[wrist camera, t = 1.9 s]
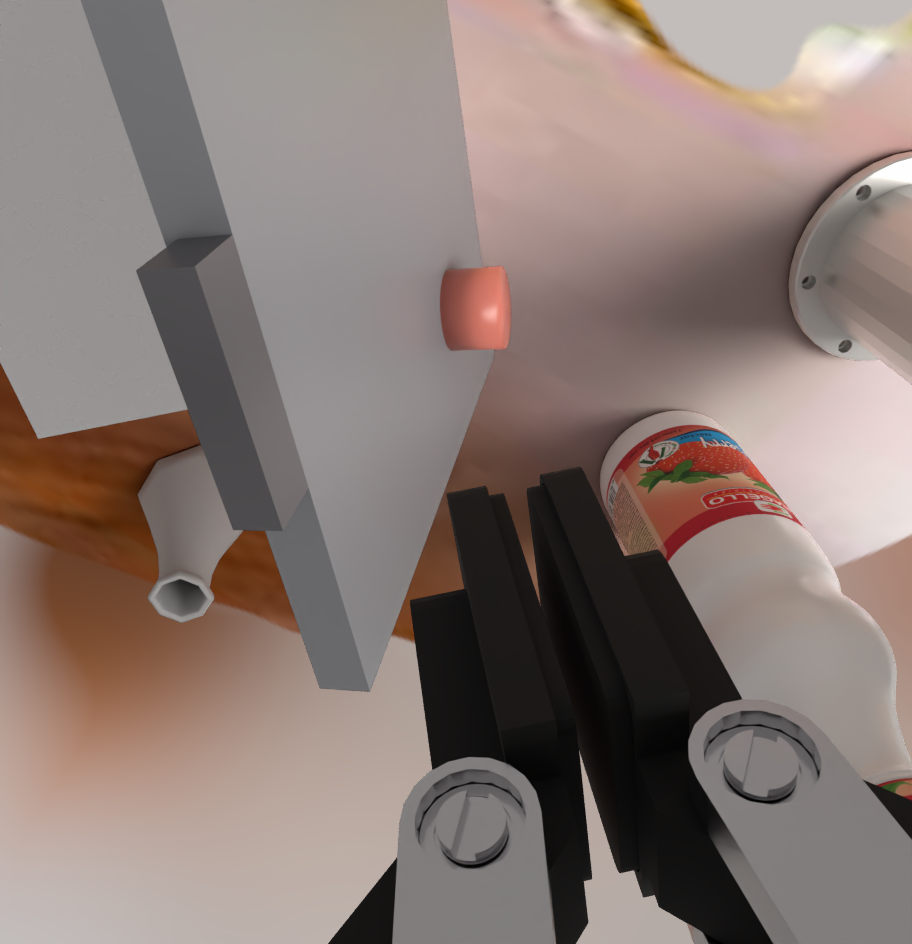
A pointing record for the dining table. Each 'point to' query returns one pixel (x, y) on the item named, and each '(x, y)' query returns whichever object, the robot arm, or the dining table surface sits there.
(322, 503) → the lid
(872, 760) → the fruit juice
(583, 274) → the dining table surface
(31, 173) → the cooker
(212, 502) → the flask
